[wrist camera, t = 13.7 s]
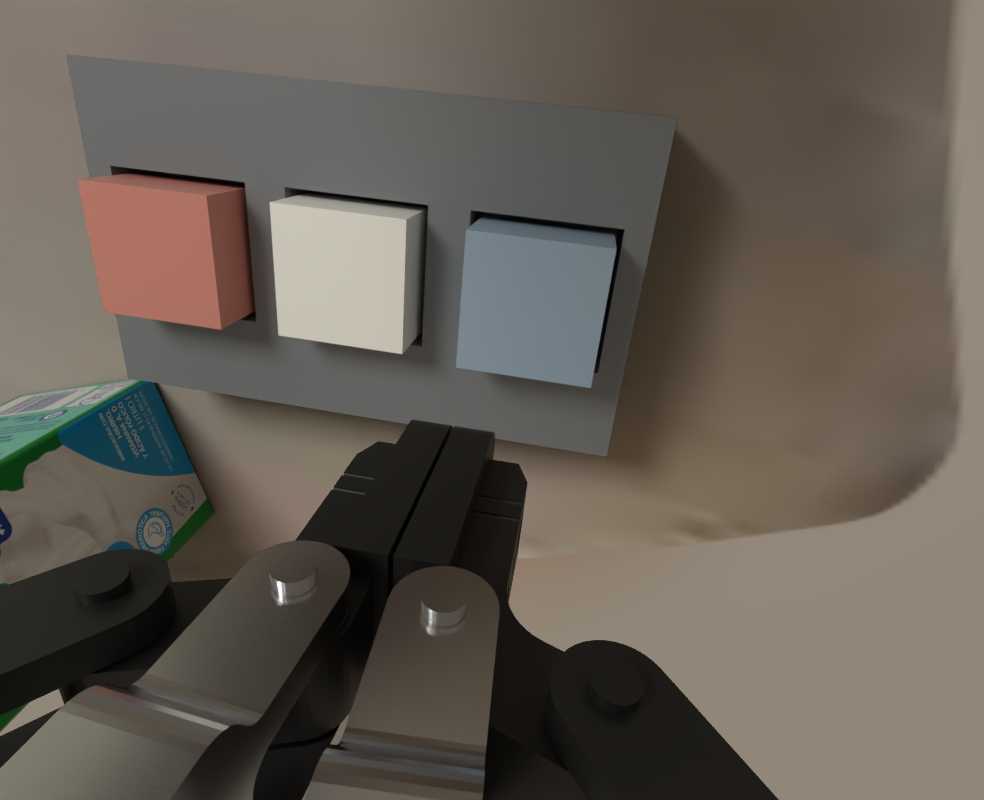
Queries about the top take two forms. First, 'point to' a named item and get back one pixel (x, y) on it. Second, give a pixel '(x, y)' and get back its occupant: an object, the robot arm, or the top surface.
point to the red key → (170, 248)
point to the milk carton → (92, 479)
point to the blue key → (533, 300)
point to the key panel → (390, 179)
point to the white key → (349, 270)
